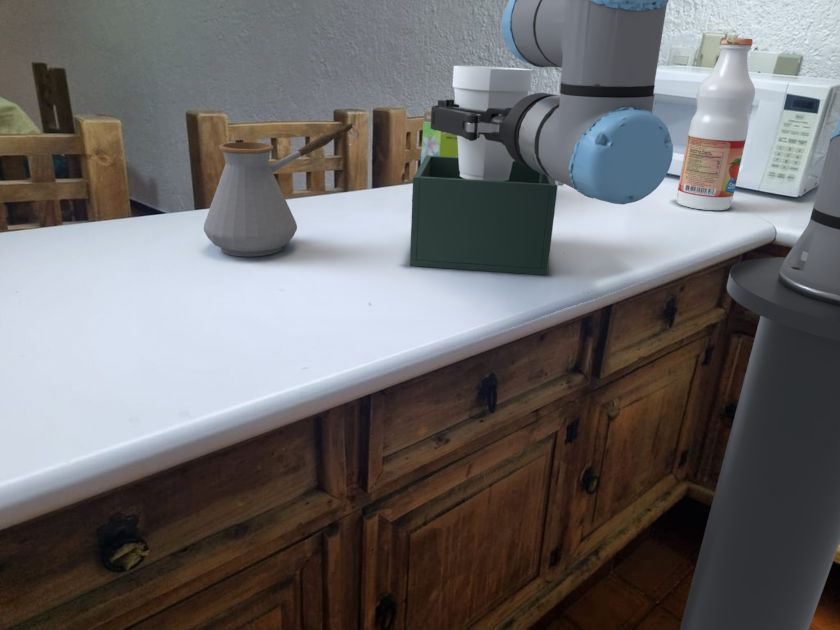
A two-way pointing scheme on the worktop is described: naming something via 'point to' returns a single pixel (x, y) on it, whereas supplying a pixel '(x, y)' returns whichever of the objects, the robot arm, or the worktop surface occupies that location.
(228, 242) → the coffee pot
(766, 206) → the worktop surface
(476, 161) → the foam cup
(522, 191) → the waste bin
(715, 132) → the fruit juice
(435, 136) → the tea box
